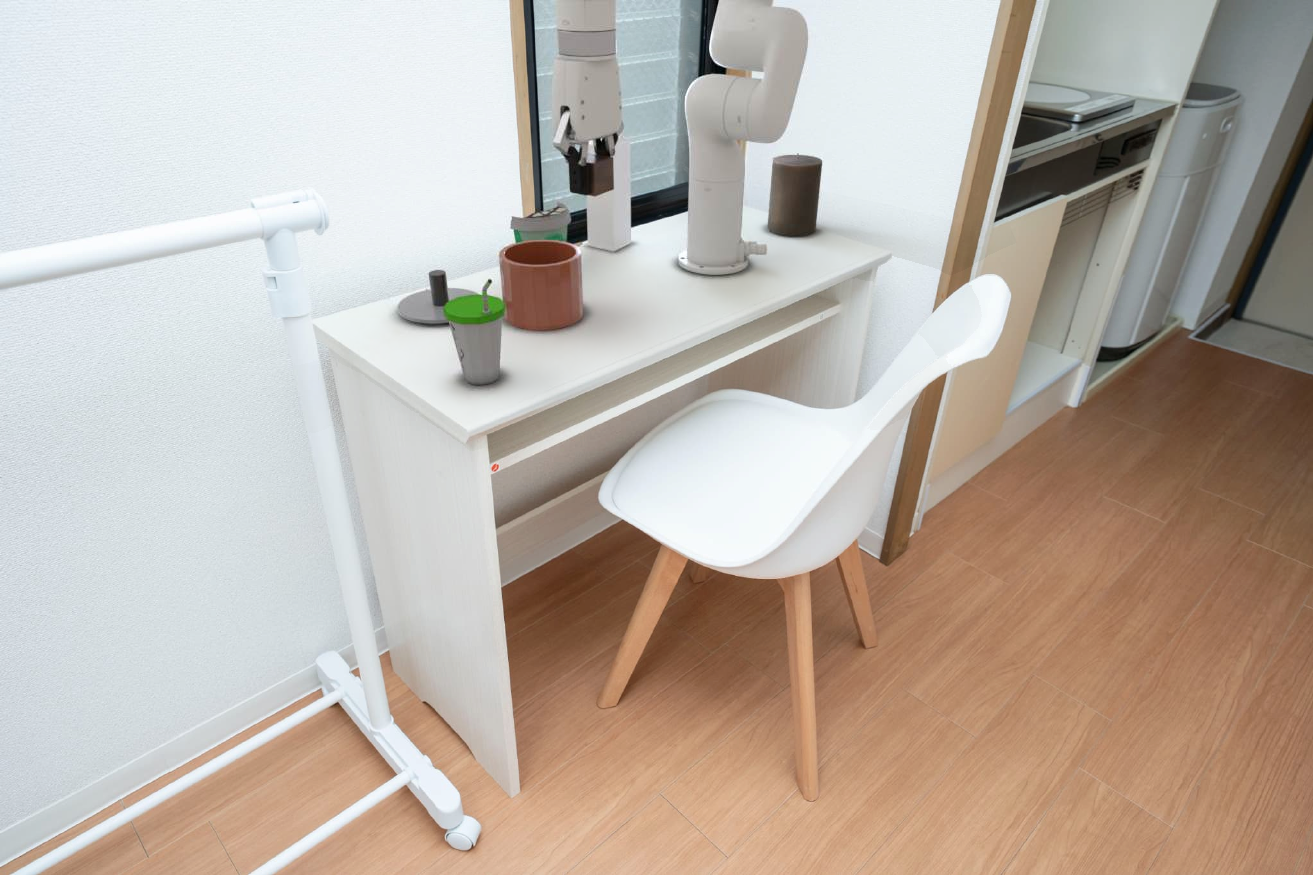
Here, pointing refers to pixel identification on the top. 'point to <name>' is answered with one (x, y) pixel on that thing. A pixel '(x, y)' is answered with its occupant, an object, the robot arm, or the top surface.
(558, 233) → the food container
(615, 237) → the milk
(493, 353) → the cup
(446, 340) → the top surface
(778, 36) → the robot arm
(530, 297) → the canister
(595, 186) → the block
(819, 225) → the top surface
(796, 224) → the pillar candle
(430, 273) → the lid
